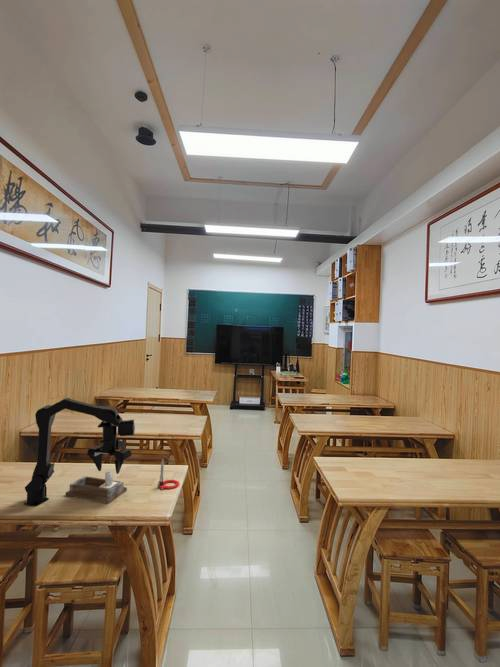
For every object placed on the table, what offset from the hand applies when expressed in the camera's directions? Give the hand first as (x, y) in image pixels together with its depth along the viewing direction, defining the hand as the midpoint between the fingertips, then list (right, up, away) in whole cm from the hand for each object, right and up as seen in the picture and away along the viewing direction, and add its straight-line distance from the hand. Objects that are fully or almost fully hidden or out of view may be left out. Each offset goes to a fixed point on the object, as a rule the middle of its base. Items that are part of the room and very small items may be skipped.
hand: (108, 472), depth 143 cm
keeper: (0, -8, 0) cm, 8 cm away
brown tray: (-6, -10, +2) cm, 12 cm away
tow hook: (+24, -11, +10) cm, 28 cm away
